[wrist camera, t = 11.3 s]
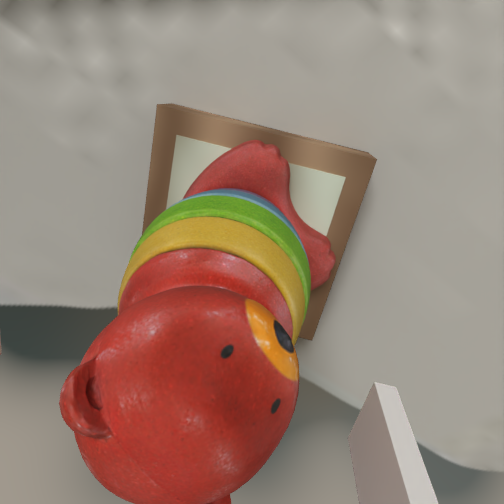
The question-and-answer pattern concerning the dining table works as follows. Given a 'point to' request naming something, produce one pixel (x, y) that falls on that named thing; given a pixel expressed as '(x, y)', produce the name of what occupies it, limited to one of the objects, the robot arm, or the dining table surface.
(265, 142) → the picture frame
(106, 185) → the dining table surface
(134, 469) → the stacking bear
